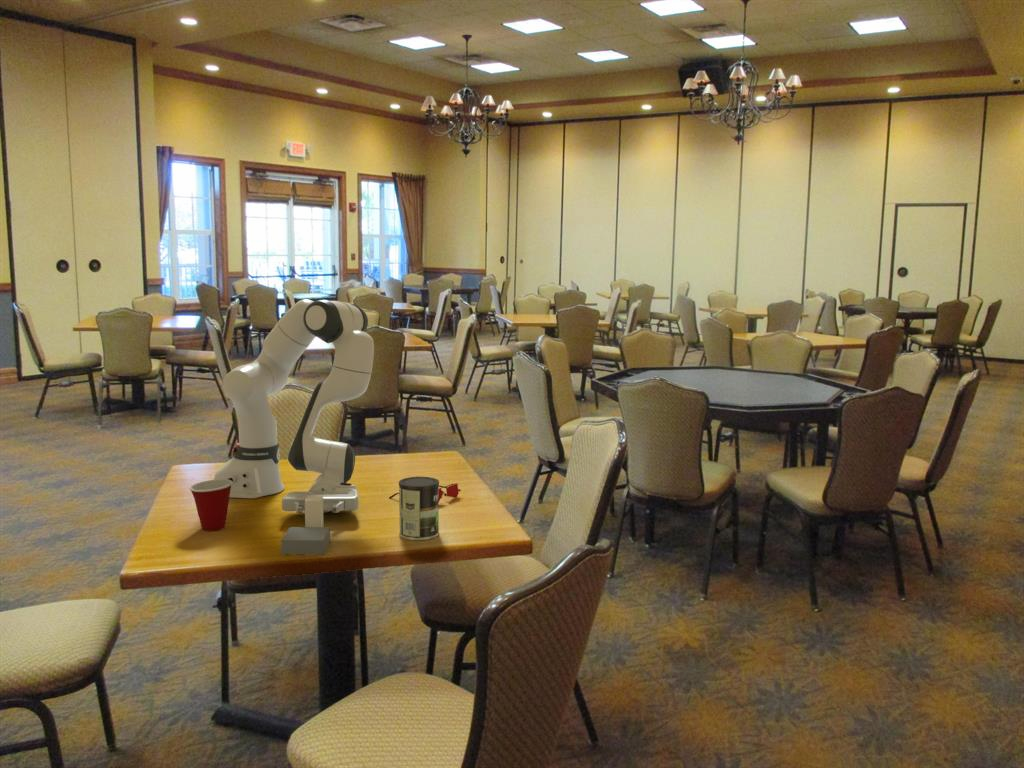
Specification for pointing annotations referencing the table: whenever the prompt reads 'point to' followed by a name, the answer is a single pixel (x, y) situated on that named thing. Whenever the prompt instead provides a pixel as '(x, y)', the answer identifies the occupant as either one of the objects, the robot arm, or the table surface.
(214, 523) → the plastic cup
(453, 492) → the glasses
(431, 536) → the coffee can
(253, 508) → the table surface
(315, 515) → the cream block
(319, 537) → the gray square block
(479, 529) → the table surface
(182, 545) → the table surface
